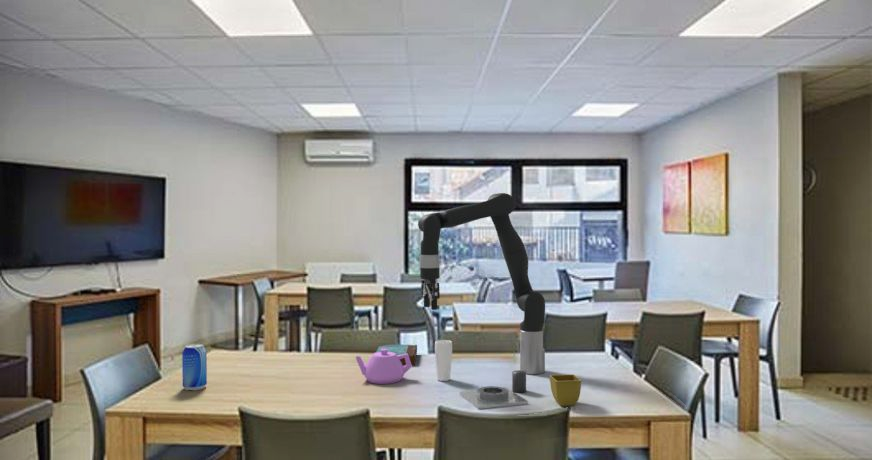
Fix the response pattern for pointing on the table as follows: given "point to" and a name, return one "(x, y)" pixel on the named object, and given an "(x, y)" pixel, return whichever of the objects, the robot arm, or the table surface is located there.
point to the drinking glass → (443, 359)
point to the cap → (519, 381)
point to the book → (402, 351)
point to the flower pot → (565, 389)
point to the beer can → (194, 367)
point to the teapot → (384, 367)
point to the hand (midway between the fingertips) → (430, 308)
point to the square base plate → (492, 397)
